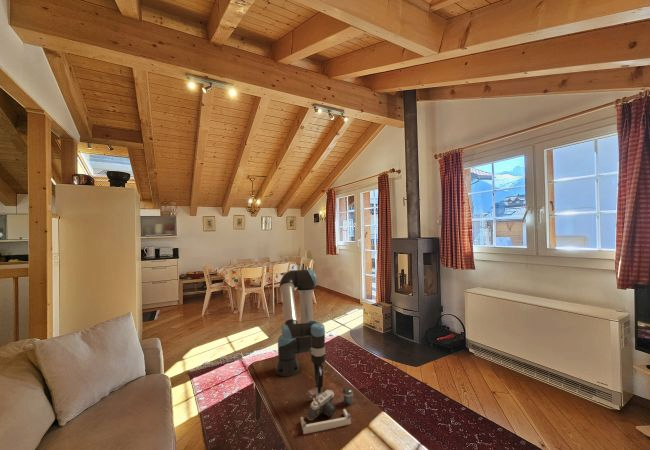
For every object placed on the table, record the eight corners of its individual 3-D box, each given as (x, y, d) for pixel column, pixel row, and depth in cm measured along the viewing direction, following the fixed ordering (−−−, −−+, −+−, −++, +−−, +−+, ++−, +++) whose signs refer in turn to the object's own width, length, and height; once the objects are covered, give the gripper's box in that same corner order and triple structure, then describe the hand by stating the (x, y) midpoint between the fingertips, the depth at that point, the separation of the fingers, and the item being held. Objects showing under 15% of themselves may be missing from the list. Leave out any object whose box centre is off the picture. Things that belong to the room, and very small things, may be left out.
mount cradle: (300, 422, 134) (300, 412, 134) (345, 413, 139) (345, 404, 139) (303, 434, 126) (303, 424, 126) (350, 424, 131) (350, 415, 131)
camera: (304, 415, 136) (309, 398, 133) (325, 399, 148) (330, 383, 146) (317, 430, 130) (323, 413, 128) (338, 412, 143) (344, 396, 140)
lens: (341, 401, 149) (341, 388, 149) (351, 399, 150) (351, 386, 150) (344, 407, 144) (344, 393, 144) (354, 405, 145) (354, 392, 145)
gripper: (309, 349, 156) (309, 391, 156) (313, 360, 144) (314, 406, 144) (322, 347, 158) (322, 389, 158) (327, 358, 145) (328, 403, 145)
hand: (318, 397), depth 151 cm, fingers closed
